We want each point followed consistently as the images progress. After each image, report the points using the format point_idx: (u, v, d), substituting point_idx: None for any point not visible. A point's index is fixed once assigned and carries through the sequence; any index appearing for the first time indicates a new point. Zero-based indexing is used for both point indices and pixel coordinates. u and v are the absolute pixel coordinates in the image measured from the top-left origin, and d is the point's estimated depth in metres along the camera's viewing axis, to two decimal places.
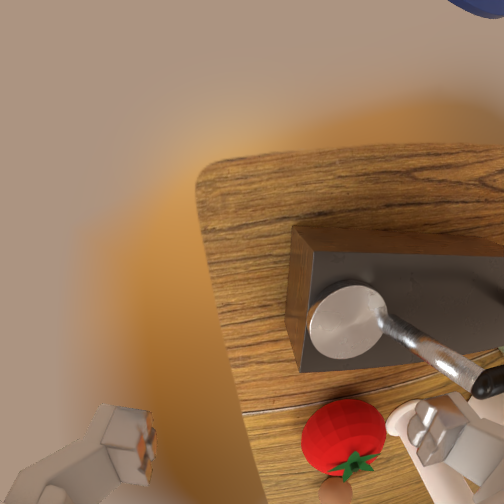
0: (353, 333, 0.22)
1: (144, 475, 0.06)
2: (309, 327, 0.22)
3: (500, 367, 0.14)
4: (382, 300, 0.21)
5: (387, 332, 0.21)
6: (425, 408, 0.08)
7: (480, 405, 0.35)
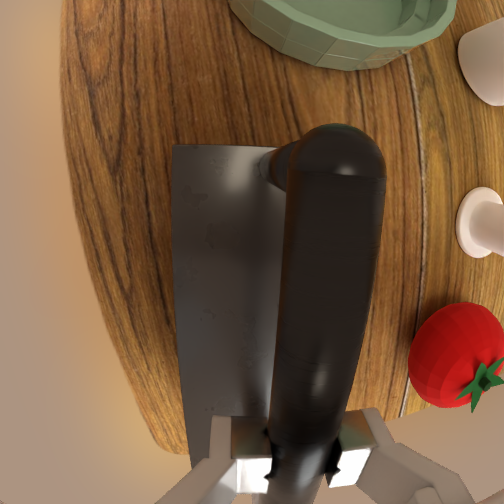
0: None
1: (267, 482, 0.07)
2: None
3: None
4: None
5: None
6: None
7: (495, 92, 0.19)
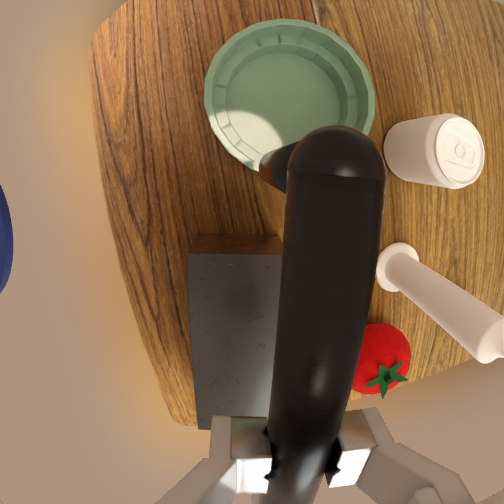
0: None
1: (267, 482, 0.07)
2: None
3: None
4: None
5: None
6: None
7: (407, 178, 0.35)
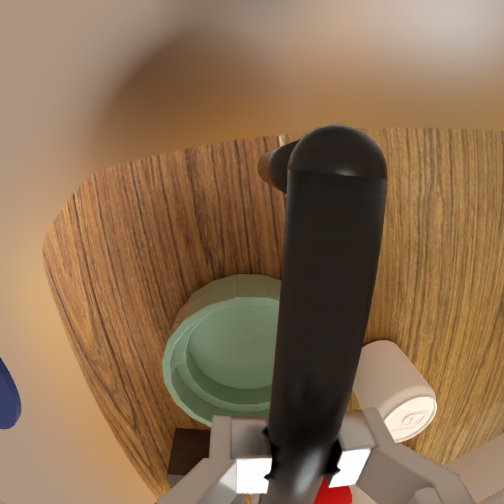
0: None
1: (267, 482, 0.07)
2: None
3: None
4: None
5: None
6: None
7: None
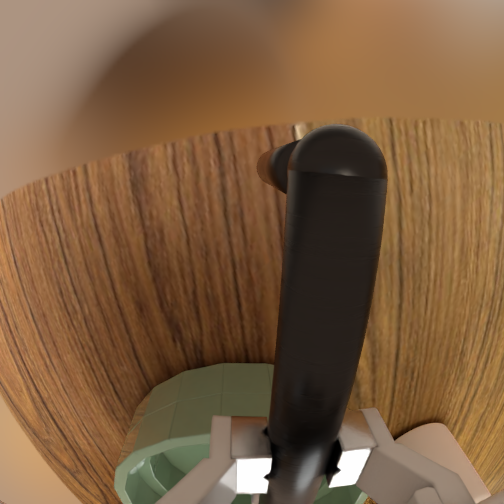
0: None
1: (267, 482, 0.07)
2: None
3: None
4: None
5: None
6: None
7: None
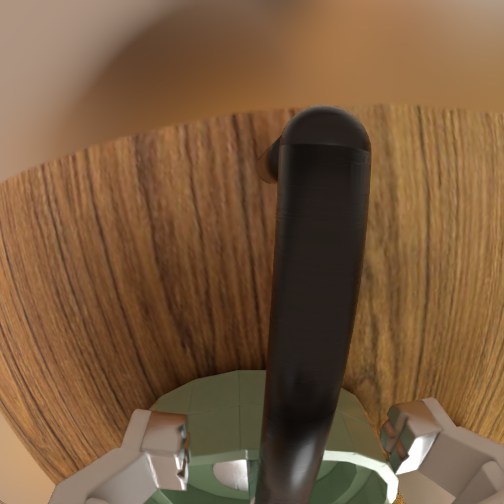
0: None
1: (183, 480, 0.06)
2: None
3: None
4: None
5: None
6: (397, 415, 0.08)
7: None
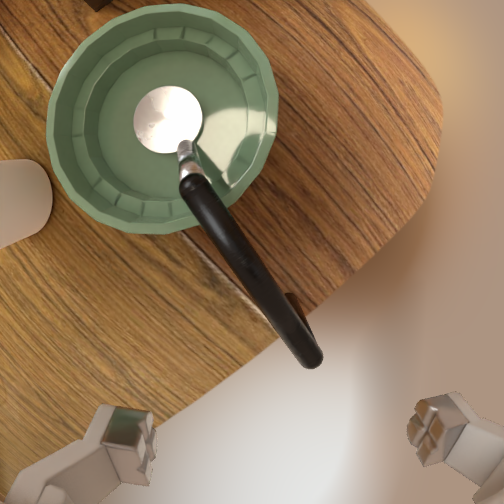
0: (161, 127, 0.25)
1: (144, 475, 0.06)
2: (147, 94, 0.24)
3: (219, 197, 0.18)
4: (199, 127, 0.25)
5: (178, 145, 0.24)
6: (425, 409, 0.08)
7: None
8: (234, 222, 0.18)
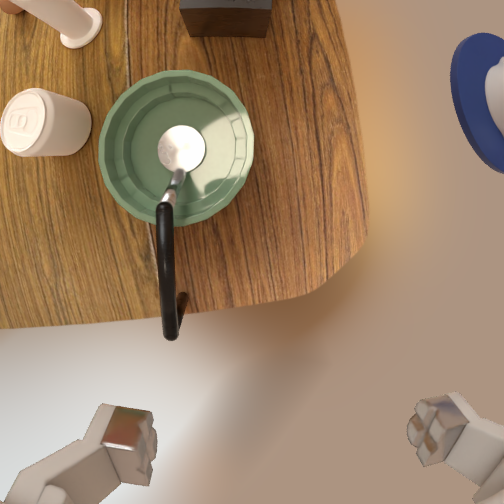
0: (174, 152, 0.37)
1: (144, 475, 0.06)
2: None
3: (173, 222, 0.31)
4: (195, 166, 0.38)
5: (176, 170, 0.37)
6: (425, 409, 0.08)
7: (70, 98, 0.33)
8: (172, 239, 0.31)
